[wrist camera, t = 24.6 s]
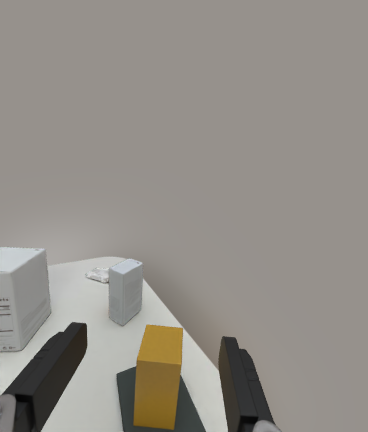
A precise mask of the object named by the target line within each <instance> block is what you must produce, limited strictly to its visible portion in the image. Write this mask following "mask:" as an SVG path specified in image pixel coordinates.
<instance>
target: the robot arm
mask: <svg viewBox="0 0 368 432" xmlns="http://www.w3.org/2000/svg"><path fill="white" fill-rule="evenodd" d="M86 349H87V325H86V323H76V322H72V323H71V324H70V325H69V326H68V327H67V328H66V330H65V331H64V332H58V333H57V334H56V335H54V336H53V337H51V338H50V339H49V340H48V341H47V342H46V343H45V345H44V346H43V347H42V348H41V350H40V351H39V352H38V353H37V354H36V355H35V356H34V358H33V359H32V360H31V361H30V362H29V363H28V364H27V366H26V367H25V368H24V369H23V370H22V372H21V373H20V374H19V375H18V376H17V377H16V379H15V380H14V381H13V382H12V383H11V384H10V386H9V387H8V388H7V389H6V390H5V391H4V393H3V394H2V395H1V396H0V432H40V431H41V430H42V428H43V426H44V425H45V423H46V421H47V419H48V418H49V416H50V414H51V412H52V411H53V409H54V407H55V406H56V404H57V402H58V400H59V399H60V397H61V395H62V394H63V392H64V390H65V388H66V387H67V385H68V383H69V381H70V380H71V378H72V376H73V375H74V373H75V371H76V369H77V368H78V366H79V364H80V362H81V361H82V359H83V357H84V355H85V353H86ZM219 374H220V380H221V387H222V393H223V400H224V406H225V413H226V419H227V426H228V432H282V431H281V430H280V429H279V428H278V427H277V426H276V425H275V423H274V421H273V418H272V415H271V413H270V410H269V407H268V404H267V401H266V398H265V395H264V392H263V389H262V386H261V383H260V381H259V377H258V375H257V372H256V369H255V366H254V363H253V360H252V358H251V357H250V355H249V354H248V353H247V351H246V350H245V349H239V347H238V343H237V340H236V338H234V337H225V336H223V337H222V340H221V346H220V352H219Z"/></svg>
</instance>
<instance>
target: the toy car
mask: <svg viewBox="0 0 368 432" xmlns="http://www.w3.org/2000/svg"><path fill="white" fill-rule="evenodd" d="M85 275H86V276H88V278H89V279H91V278H92V279H95V280H98V281H101V282H102V283H105V282H108V281H109V269H107V268H103V269H101V268H95V269H93V270H92V271H90V272H88V273H86V274H85Z"/></svg>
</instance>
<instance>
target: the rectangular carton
mask: <svg viewBox="0 0 368 432" xmlns="http://www.w3.org/2000/svg"><path fill="white" fill-rule="evenodd" d="M50 313H51V306H50V294H49V282H48V270H47V259H46V249H35V248H33V249H32V248H12V247H0V351H20V350H22V349H23V348H24V347H25V345H26V344H27V343H28V342H29V340H30V339H31V338H32V336H33V335H34V334H35V333H36V331H37V330H38V329H39V327H40V326H41V325H42V324H43V322H44V321H45V320H46V319H47V317H48V316H49V315H50Z"/></svg>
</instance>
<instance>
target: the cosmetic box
mask: <svg viewBox="0 0 368 432" xmlns="http://www.w3.org/2000/svg"><path fill="white" fill-rule="evenodd" d="M142 282H143V263H142V262H139V261H136V260H133V259H131V258H128V259H126V260H125V261H123V262H120V263H118V264H116V265H114V266H112V267H110V268H109V318H110V319H111V320H113V321H115V322H117V323H118V324H120V325H122V326H123V325H124V324H126V323H127V322H128V321H129V320H130V319H131V318H132V317H133V316H134V315H135V314H137V313H138V312H139V311H140V310H141V307H142Z"/></svg>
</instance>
